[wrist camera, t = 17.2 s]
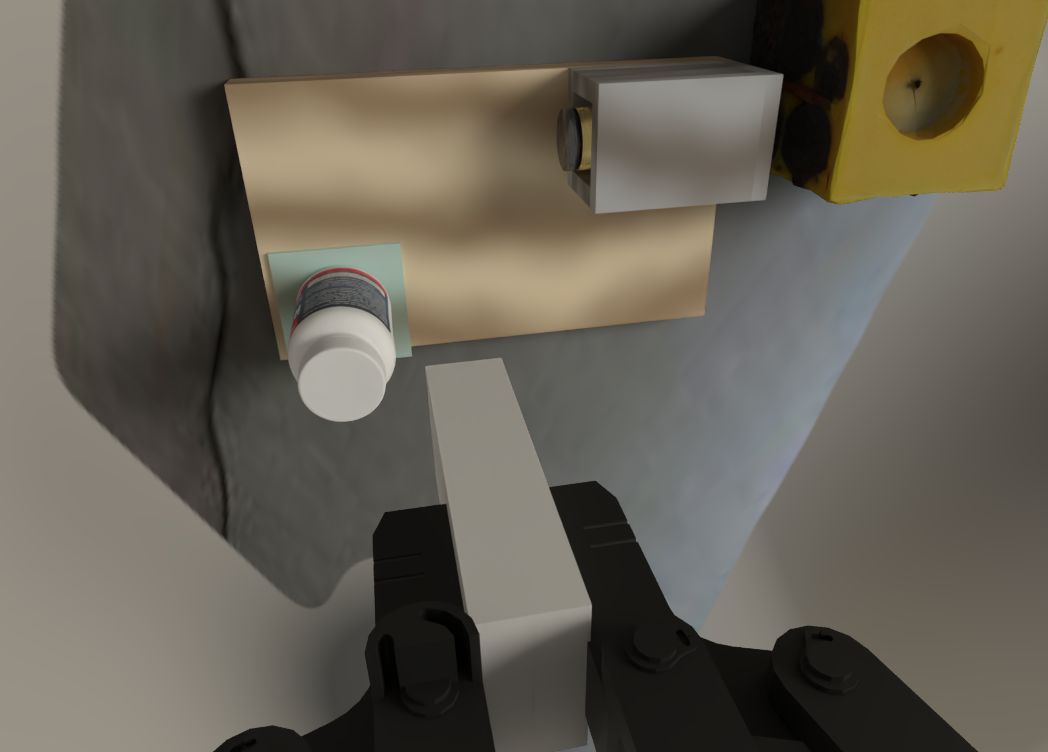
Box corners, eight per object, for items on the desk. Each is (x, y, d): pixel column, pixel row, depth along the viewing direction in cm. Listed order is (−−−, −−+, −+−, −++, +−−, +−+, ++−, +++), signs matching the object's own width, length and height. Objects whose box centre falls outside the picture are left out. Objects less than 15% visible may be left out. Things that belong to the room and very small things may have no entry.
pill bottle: (284, 272, 40) (268, 345, 33) (380, 255, 41) (386, 323, 33) (309, 357, 43) (299, 442, 36) (399, 340, 44) (408, 421, 36)
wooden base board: (230, 78, 38) (204, 104, 31) (716, 55, 42) (783, 74, 35) (284, 352, 45) (273, 418, 39) (691, 309, 49) (742, 363, 43)
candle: (887, 151, 47) (1007, 194, 38) (736, 164, 45) (825, 213, 37) (925, -36, 42) (1073, -33, 33) (756, -27, 40) (865, -23, 32)
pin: (556, 104, 38) (571, 114, 35) (704, 95, 39) (729, 105, 37) (556, 163, 39) (570, 177, 37) (699, 153, 41) (722, 166, 38)
